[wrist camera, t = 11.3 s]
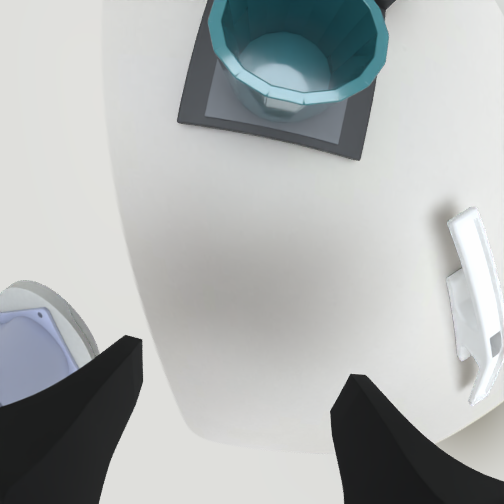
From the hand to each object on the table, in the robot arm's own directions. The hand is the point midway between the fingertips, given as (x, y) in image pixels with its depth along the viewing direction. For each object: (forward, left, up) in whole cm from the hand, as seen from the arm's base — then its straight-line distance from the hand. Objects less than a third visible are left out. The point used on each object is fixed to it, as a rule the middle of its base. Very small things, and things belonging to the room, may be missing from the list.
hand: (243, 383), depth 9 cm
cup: (+4, +11, -8) cm, 14 cm away
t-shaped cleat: (+17, -7, -10) cm, 21 cm away
